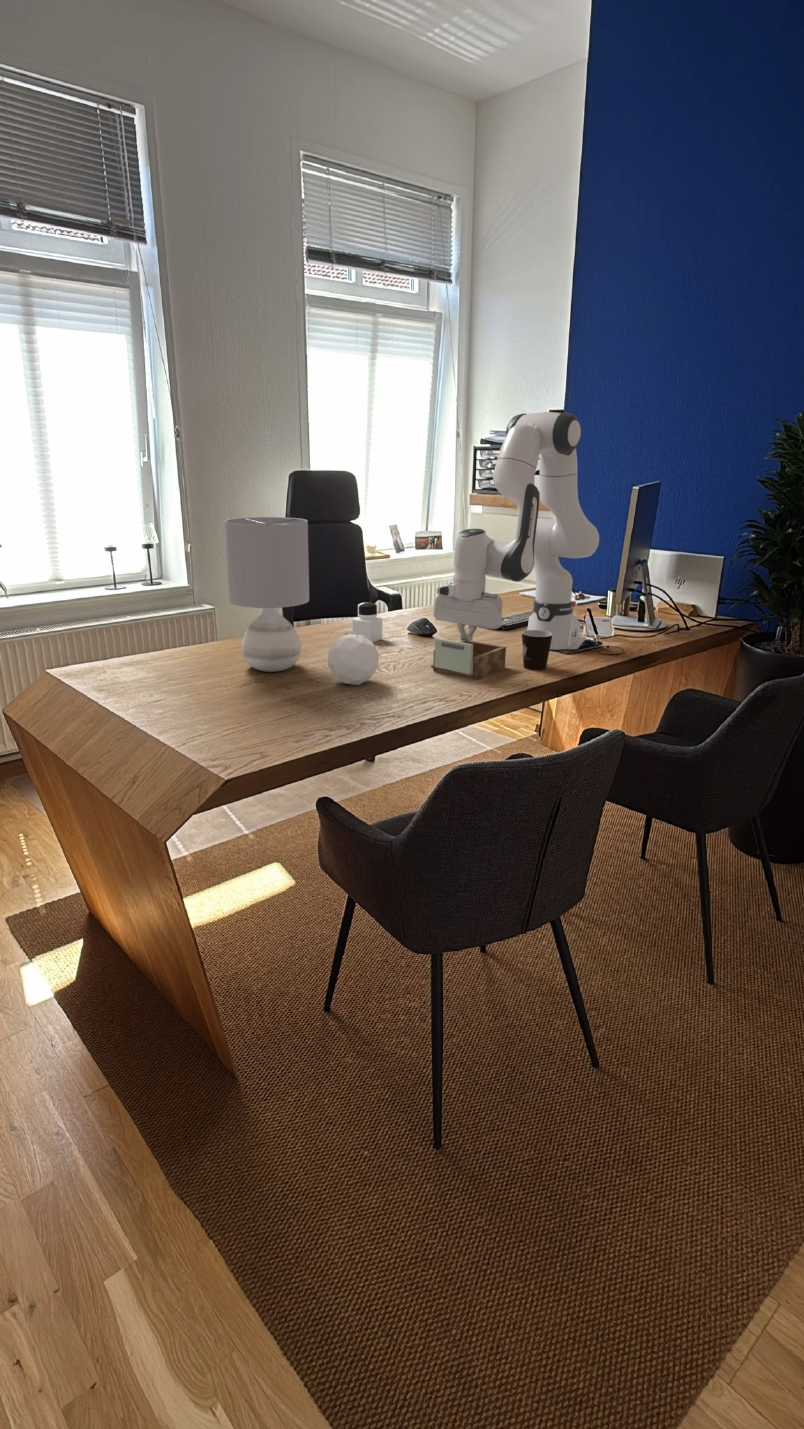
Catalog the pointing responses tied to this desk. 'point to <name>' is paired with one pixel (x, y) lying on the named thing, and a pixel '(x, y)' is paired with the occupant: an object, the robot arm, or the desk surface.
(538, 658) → the coffee mug
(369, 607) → the medicine bottle
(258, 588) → the lamp
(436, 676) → the desk surface
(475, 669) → the crate
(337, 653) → the geodesic sphere
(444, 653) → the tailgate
